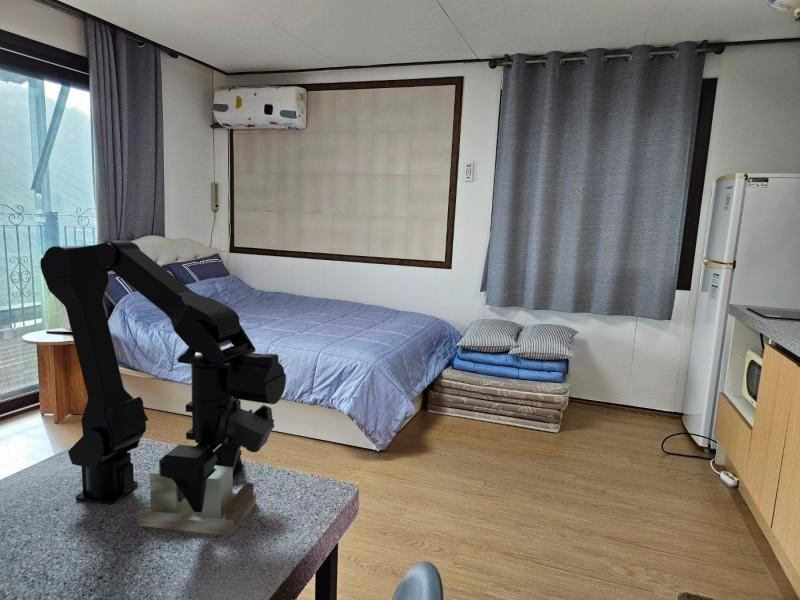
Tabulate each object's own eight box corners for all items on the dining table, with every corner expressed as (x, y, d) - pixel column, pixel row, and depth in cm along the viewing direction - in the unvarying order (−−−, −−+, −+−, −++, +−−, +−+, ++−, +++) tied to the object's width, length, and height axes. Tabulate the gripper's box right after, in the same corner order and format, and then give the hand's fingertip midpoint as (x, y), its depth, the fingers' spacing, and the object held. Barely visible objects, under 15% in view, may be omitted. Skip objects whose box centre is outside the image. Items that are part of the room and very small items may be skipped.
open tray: (137, 525, 76) (136, 480, 75) (171, 494, 84) (171, 453, 83) (230, 536, 74) (230, 490, 73) (255, 503, 83) (256, 462, 82)
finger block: (220, 518, 77) (220, 479, 76) (191, 515, 77) (190, 476, 76) (232, 504, 81) (232, 467, 80) (204, 501, 81) (204, 464, 80)
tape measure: (242, 479, 90) (242, 459, 90) (199, 484, 88) (199, 463, 88) (241, 462, 97) (241, 443, 96) (201, 466, 95) (201, 446, 94)
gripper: (238, 422, 66) (238, 537, 68) (288, 380, 85) (286, 472, 87) (155, 415, 67) (158, 528, 70) (221, 374, 86) (222, 465, 88)
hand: (213, 495), depth 78 cm, fingers open, 9 cm apart
